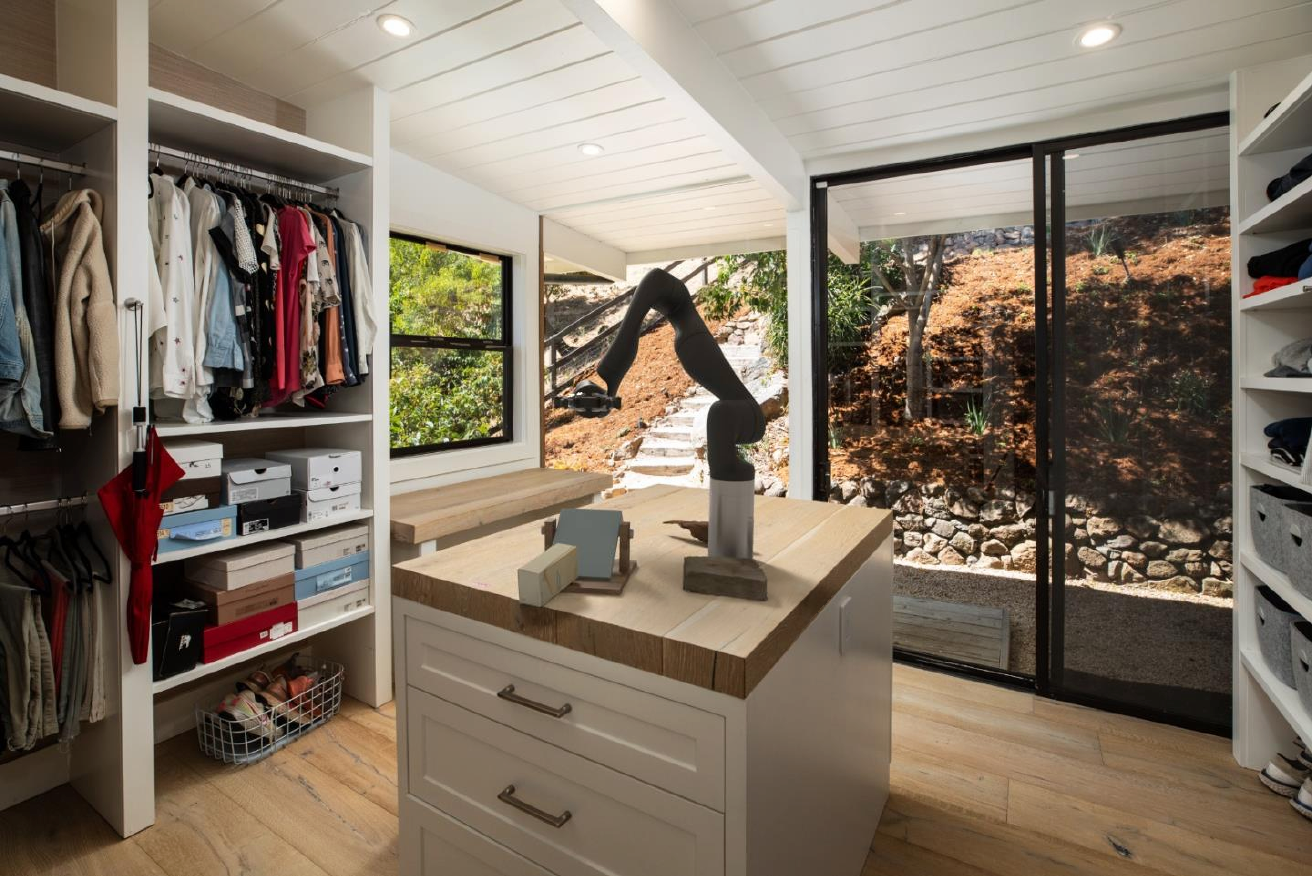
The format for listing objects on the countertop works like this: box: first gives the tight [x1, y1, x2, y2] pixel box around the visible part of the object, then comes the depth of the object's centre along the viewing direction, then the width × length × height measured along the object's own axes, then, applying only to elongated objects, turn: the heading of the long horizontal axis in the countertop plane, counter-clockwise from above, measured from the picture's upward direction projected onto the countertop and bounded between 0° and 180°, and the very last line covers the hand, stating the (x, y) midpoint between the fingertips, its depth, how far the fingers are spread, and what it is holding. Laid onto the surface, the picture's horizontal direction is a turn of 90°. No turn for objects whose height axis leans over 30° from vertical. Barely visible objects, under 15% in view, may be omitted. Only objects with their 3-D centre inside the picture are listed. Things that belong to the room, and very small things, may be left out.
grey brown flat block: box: [682, 555, 769, 602], centre depth 124 cm, size 17×15×4 cm
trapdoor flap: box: [552, 507, 624, 581], centre depth 129 cm, size 15×12×4 cm
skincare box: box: [516, 543, 578, 608], centre depth 116 cm, size 6×4×12 cm
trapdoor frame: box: [540, 517, 638, 596], centre depth 127 cm, size 19×18×10 cm
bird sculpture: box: [662, 519, 755, 544], centre depth 156 cm, size 7×25×5 cm, turn 54°
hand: (586, 403), depth 137 cm, fingers open, 8 cm apart
